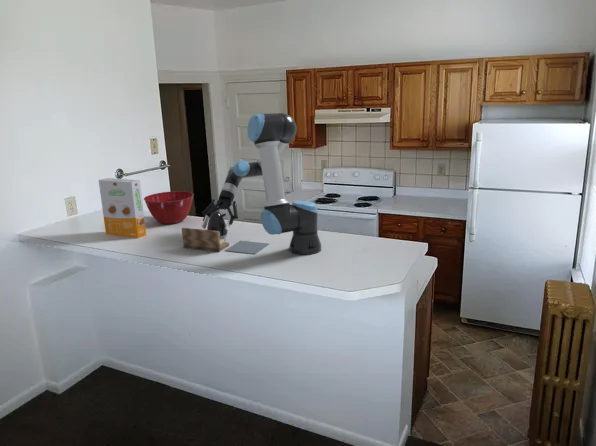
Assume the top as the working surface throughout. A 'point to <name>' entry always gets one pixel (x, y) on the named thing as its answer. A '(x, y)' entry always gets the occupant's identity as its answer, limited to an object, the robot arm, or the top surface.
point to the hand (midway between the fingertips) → (214, 228)
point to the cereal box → (122, 207)
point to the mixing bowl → (169, 206)
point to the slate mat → (247, 247)
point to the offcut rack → (203, 240)
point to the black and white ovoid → (217, 224)
